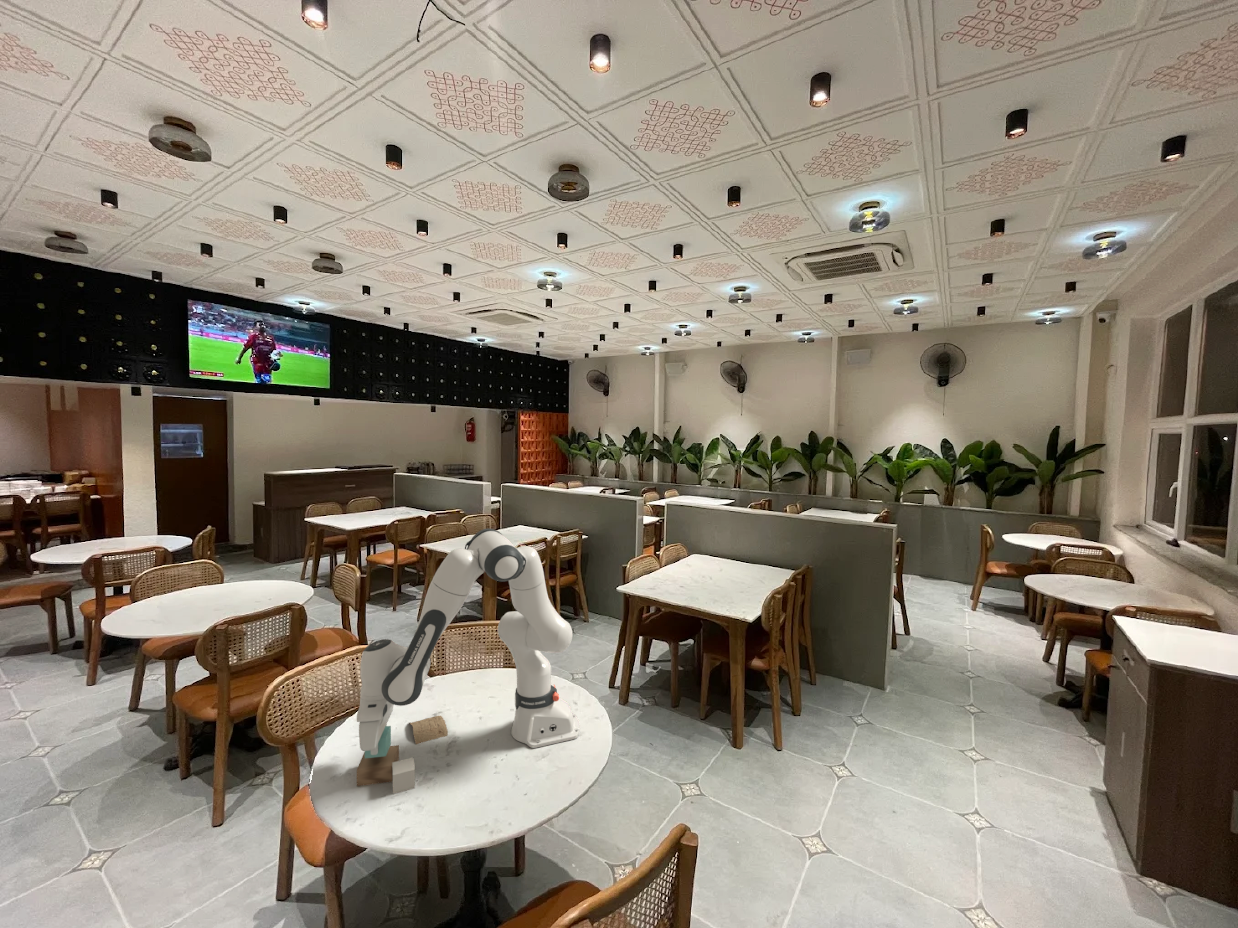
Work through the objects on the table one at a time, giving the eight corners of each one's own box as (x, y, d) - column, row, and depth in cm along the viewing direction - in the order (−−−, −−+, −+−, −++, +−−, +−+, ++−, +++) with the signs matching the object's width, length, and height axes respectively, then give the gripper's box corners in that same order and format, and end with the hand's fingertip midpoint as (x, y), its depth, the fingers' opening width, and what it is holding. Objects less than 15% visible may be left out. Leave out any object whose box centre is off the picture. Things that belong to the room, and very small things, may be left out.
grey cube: (413, 775, 138) (413, 756, 138) (414, 788, 134) (414, 769, 133) (392, 781, 136) (392, 762, 136) (392, 794, 131) (392, 775, 131)
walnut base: (398, 761, 144) (398, 744, 144) (392, 782, 136) (392, 765, 135) (365, 765, 142) (365, 748, 142) (356, 787, 134) (356, 769, 133)
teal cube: (390, 743, 142) (390, 725, 141) (385, 756, 136) (385, 737, 136) (370, 745, 141) (370, 727, 140) (364, 758, 135) (364, 739, 135)
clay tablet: (407, 724, 163) (407, 716, 163) (438, 715, 168) (438, 707, 168) (416, 748, 151) (416, 740, 151) (449, 737, 156) (449, 729, 156)
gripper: (376, 680, 147) (376, 724, 148) (354, 719, 127) (354, 770, 128) (398, 678, 148) (399, 722, 149) (380, 717, 128) (380, 767, 129)
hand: (378, 745), depth 138 cm, fingers closed on teal cube, 5 cm apart
